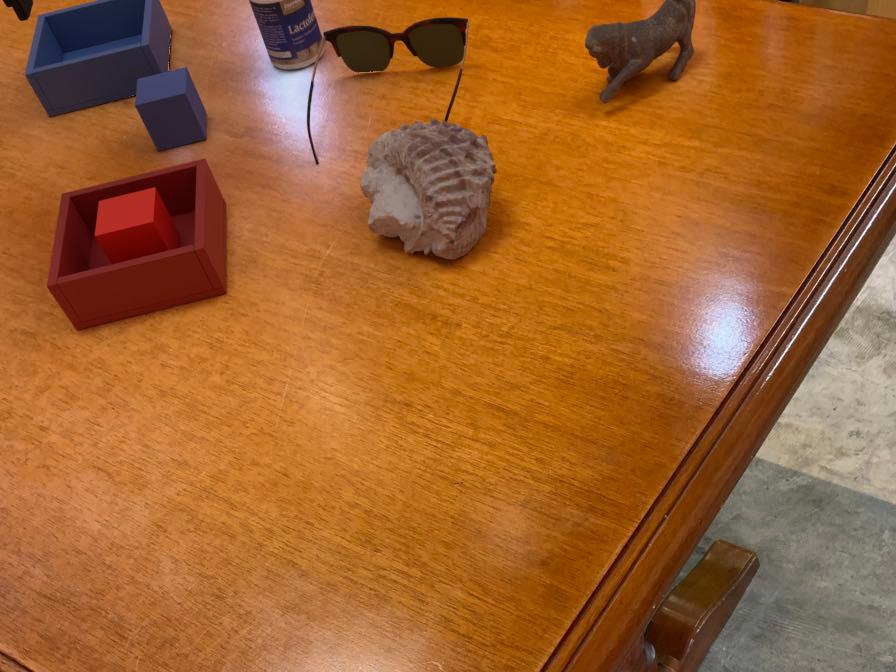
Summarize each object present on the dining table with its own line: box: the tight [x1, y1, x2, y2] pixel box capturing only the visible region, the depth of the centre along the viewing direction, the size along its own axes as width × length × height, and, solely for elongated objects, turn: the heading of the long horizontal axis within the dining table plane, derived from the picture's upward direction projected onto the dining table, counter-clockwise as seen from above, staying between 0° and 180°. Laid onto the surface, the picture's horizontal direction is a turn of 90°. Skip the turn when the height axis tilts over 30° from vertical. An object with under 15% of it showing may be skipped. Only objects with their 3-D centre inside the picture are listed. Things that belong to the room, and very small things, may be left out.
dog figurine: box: [584, 0, 697, 104], centre depth 90 cm, size 12×6×7 cm, turn 124°
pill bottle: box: [248, 0, 326, 71], centre depth 101 cm, size 6×6×10 cm
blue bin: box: [24, 0, 172, 118], centre depth 107 cm, size 13×13×5 cm
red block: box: [95, 187, 180, 264], centre depth 85 cm, size 5×5×5 cm
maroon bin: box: [46, 158, 228, 331], centre depth 85 cm, size 13×13×5 cm
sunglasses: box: [306, 16, 470, 165], centre depth 94 cm, size 14×15×5 cm
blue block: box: [134, 66, 208, 152], centre depth 97 cm, size 5×5×5 cm
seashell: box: [359, 117, 498, 261], centre depth 83 cm, size 14×9×10 cm
